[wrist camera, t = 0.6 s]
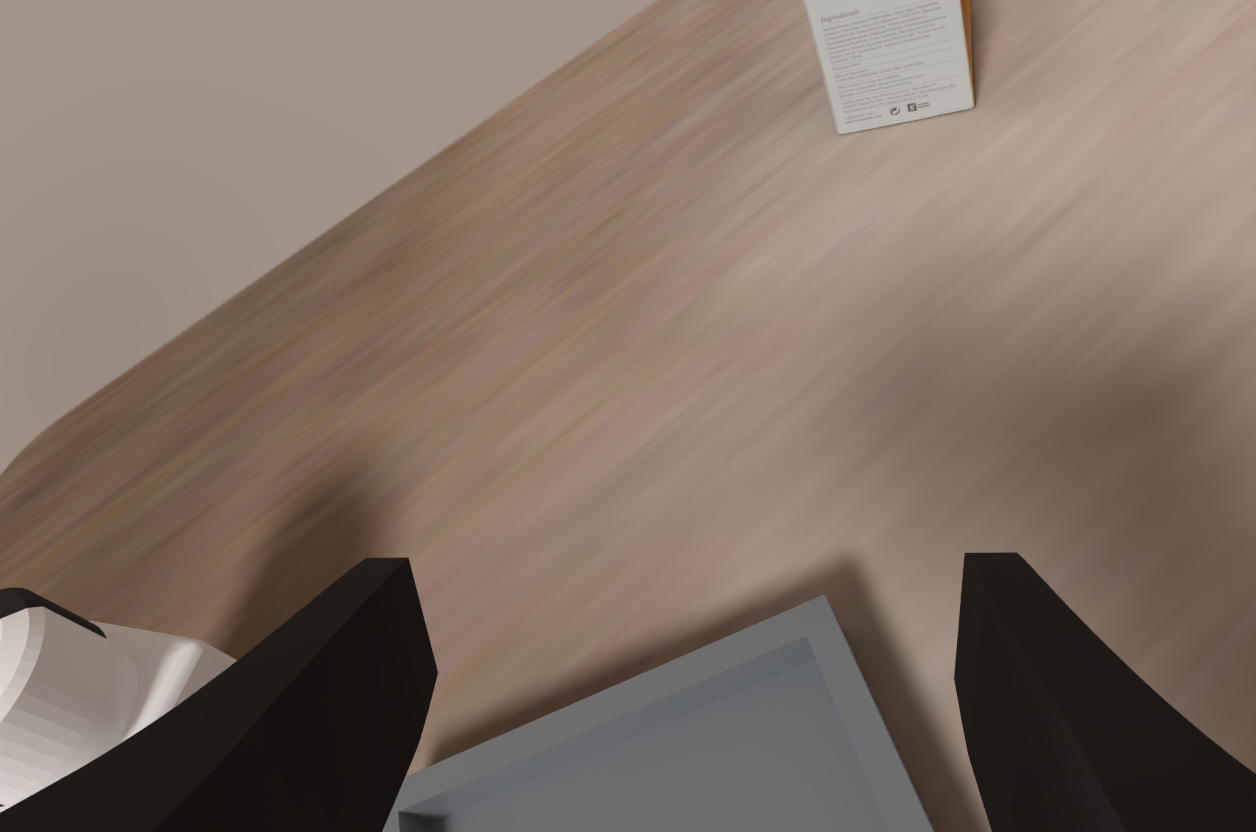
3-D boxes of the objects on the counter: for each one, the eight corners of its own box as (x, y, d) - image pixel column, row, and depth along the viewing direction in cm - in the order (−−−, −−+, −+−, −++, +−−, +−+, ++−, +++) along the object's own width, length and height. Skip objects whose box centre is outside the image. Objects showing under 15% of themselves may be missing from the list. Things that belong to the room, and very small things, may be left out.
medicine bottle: (113, 865, 36) (-211, 773, 27) (206, 684, 39) (-52, 551, 30) (243, 912, 32) (-78, 824, 24) (332, 710, 36) (81, 570, 27)
